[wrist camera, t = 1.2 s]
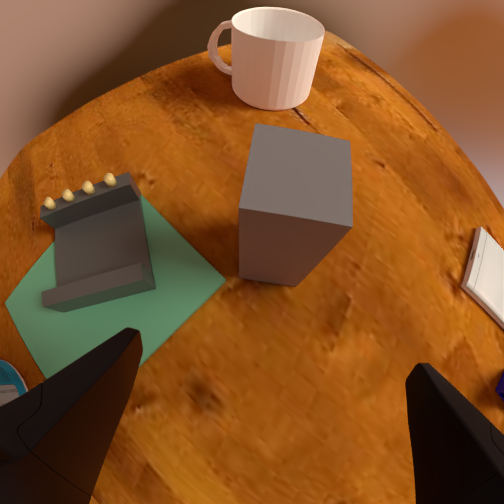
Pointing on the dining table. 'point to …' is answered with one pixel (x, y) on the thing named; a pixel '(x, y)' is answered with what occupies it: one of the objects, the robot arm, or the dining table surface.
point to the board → (115, 301)
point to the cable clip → (501, 388)
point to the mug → (271, 56)
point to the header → (98, 244)
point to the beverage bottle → (10, 383)
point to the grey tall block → (292, 203)
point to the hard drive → (486, 275)
